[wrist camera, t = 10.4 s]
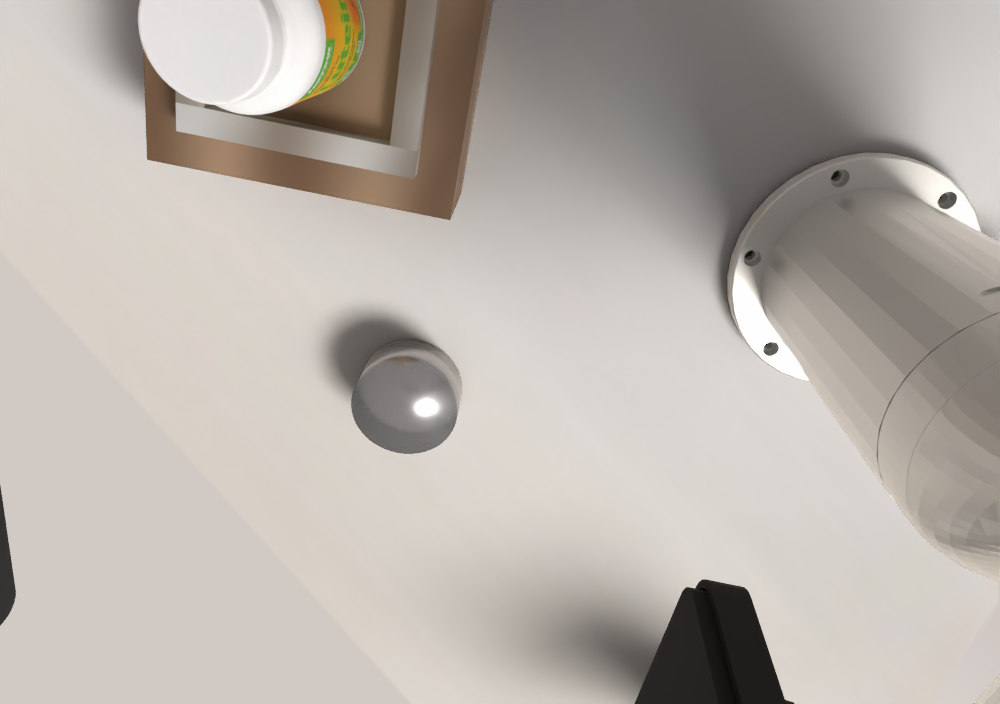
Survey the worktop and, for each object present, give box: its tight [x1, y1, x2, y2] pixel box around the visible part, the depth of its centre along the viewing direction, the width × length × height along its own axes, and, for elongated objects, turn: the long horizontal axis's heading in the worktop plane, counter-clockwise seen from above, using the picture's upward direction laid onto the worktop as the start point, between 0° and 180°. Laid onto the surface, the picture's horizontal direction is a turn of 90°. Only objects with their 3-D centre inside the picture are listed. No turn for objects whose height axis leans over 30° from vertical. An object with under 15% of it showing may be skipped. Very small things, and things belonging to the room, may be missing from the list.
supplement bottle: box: [138, 0, 365, 115], centre depth 25 cm, size 5×5×10 cm
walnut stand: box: [143, 0, 493, 220], centre depth 31 cm, size 14×14×6 cm
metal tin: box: [351, 340, 462, 454], centre depth 42 cm, size 6×6×3 cm
